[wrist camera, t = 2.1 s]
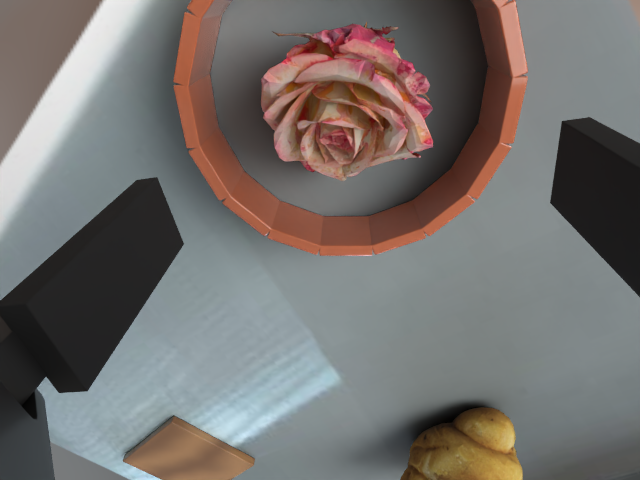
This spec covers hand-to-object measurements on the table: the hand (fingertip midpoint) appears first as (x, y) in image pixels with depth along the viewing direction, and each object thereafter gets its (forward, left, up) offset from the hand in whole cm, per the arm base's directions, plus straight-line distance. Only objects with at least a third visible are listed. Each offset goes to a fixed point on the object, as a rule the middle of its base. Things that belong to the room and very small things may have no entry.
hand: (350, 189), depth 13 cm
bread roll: (+24, -27, -13) cm, 38 cm away
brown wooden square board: (-2, -44, -13) cm, 46 cm away
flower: (0, 0, -13) cm, 13 cm away
